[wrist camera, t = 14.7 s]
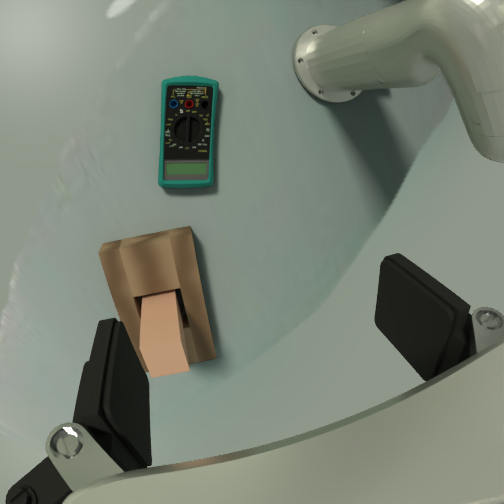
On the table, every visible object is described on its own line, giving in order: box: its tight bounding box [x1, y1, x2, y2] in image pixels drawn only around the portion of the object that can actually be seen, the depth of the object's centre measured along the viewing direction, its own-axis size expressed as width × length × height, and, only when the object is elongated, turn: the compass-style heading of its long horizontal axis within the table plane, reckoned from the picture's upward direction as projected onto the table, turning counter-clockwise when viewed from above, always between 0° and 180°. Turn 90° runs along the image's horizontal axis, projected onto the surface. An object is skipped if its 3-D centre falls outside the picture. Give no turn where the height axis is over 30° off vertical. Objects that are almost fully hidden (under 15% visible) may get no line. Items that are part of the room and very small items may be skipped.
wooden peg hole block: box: [99, 226, 217, 372], centre depth 46 cm, size 13×22×4 cm, turn 6°
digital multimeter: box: [158, 76, 219, 188], centre depth 38 cm, size 7×15×3 cm, turn 176°
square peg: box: [139, 289, 190, 378], centre depth 41 cm, size 5×5×14 cm
